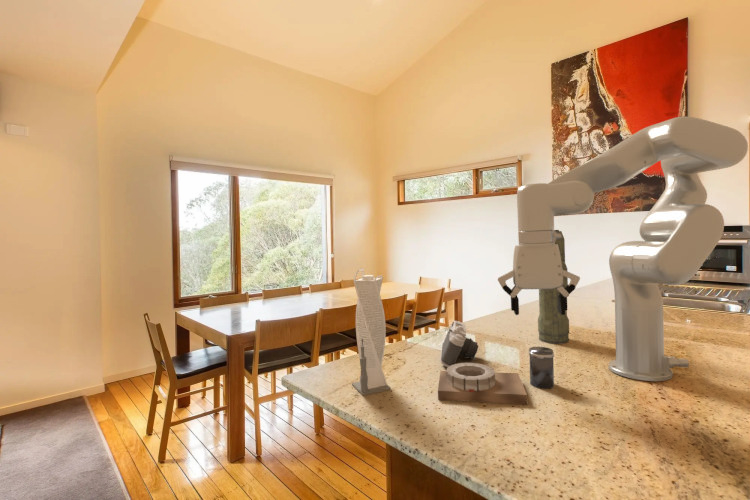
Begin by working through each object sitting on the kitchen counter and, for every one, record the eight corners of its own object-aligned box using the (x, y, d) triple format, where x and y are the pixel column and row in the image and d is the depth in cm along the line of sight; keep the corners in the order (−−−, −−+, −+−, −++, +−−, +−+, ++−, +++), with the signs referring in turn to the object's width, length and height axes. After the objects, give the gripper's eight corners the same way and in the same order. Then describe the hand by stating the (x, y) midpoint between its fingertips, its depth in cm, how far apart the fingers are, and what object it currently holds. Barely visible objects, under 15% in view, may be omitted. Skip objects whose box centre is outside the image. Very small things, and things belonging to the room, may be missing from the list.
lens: (551, 380, 88) (550, 346, 88) (557, 389, 83) (556, 353, 83) (527, 379, 89) (527, 346, 89) (532, 388, 84) (531, 353, 84)
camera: (436, 364, 99) (452, 329, 97) (439, 343, 115) (452, 313, 113) (470, 379, 98) (486, 344, 96) (468, 356, 113) (482, 326, 111)
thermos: (576, 338, 120) (573, 229, 119) (558, 346, 113) (555, 230, 111) (549, 333, 127) (546, 230, 126) (530, 340, 120) (527, 231, 118)
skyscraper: (350, 382, 92) (344, 269, 91) (380, 376, 95) (375, 266, 94) (362, 395, 84) (356, 271, 83) (394, 388, 88) (389, 268, 87)
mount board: (518, 381, 88) (517, 363, 88) (527, 404, 77) (526, 383, 76) (440, 378, 92) (440, 360, 92) (438, 399, 81) (437, 379, 80)
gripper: (573, 236, 87) (575, 310, 88) (494, 240, 91) (497, 310, 92) (583, 237, 80) (585, 317, 80) (497, 241, 84) (500, 317, 84)
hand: (538, 313), depth 86 cm, fingers open, 9 cm apart
